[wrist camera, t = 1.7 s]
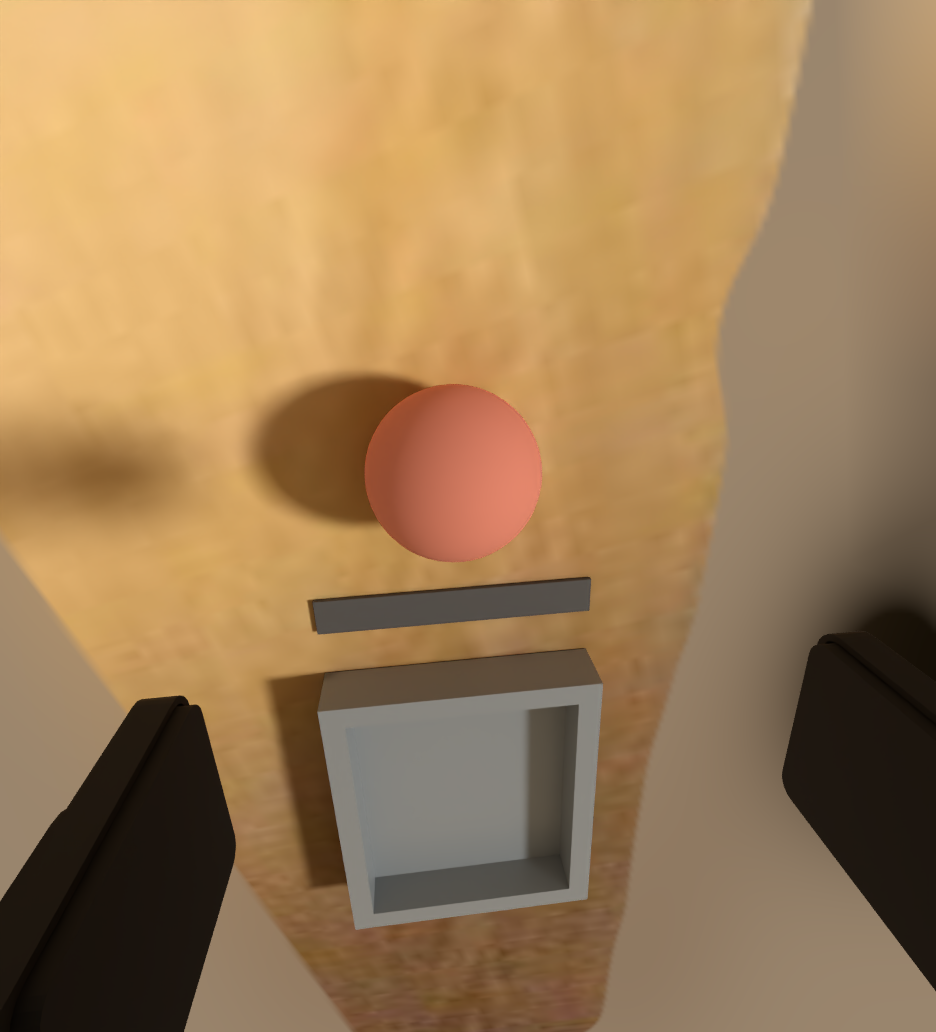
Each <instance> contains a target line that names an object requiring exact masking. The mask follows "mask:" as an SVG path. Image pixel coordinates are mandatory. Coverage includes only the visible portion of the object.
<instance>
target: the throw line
mask: <svg viewBox="0 0 936 1032" xmlns="http://www.w3.org/2000/svg"><path fill="white" fill-rule="evenodd" d="M590 588H591V578H590V577H585V578H573V579H561V580H549V581H537V582H525V583H513V584H501V585H489V586H477V587H465V588H453V589H441V590H429V591H417V592H405V593H393V594H381V595H369V596H357V597H345V598H333V599H321V600H313V609H314V615H315V621H316V627H317V633H318V634H329V633H341V632H352V631H363V630H375V629H386V628H397V627H409V626H420V625H431V624H442V623H454V622H465V621H476V620H488V619H499V618H510V617H522V616H533V615H544V614H556V613H567V612H578V611H589V606H590Z"/></svg>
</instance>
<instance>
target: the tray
mask: <svg viewBox="0 0 936 1032" xmlns="http://www.w3.org/2000/svg"><path fill="white" fill-rule="evenodd" d="M602 689H603V683H602V681H601V679H600V677H599V675H598V673H597V671H596V668H595V666H594V664H593V662H592V660H591V658H590V656H589V654H588V652H587V650H586V648H585V649H575V650H564V651H554V652H543V653H532V654H522V655H511V656H500V657H490V658H479V659H469V660H458V661H447V662H437V663H426V664H415V665H405V666H394V667H384V668H373V669H362V670H352V671H341V672H330V673H325V676H324V681H323V686H322V691H321V696H320V701H319V706H318V711H317V712H318V718H319V724H320V730H321V735H322V741H323V747H324V752H325V758H326V764H327V770H328V775H329V781H330V787H331V792H332V798H333V804H334V810H335V815H336V821H337V827H338V832H339V838H340V844H341V850H342V855H343V861H344V867H345V872H346V878H347V884H348V890H349V895H350V901H351V907H352V912H353V918H354V924H355V930H356V929H364V928H371V927H379V926H387V925H394V924H402V923H409V922H417V921H424V920H432V919H440V918H447V917H455V916H462V915H470V914H477V913H485V912H493V911H500V910H508V909H515V908H523V907H531V906H538V905H546V904H553V903H561V902H568V901H576V900H584V899H587V896H588V882H589V868H590V855H591V841H592V827H593V813H594V799H595V786H596V772H597V758H598V744H599V731H600V717H601V703H602Z"/></svg>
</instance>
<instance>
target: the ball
mask: <svg viewBox="0 0 936 1032" xmlns="http://www.w3.org/2000/svg"><path fill="white" fill-rule="evenodd" d="M541 483H542V465H541V457H540V452H539V448H538V446H537V443H536V440H535V438H534V436H533V434H532V432H531V430H530V428H529V426H528V425H527V423H526V422H525V420H524V419H523V417H522V416H521V415H520V414H519V413H518V412H517V411H516V410H515V409H514V408H513V407H512V406H510V405H509V404H508V403H507V402H506V401H504V400H503V399H501V398H499V397H498V396H496V395H495V394H493V393H490V392H488V391H486V390H484V389H480V388H477V387H473V386H468V385H461V384H447V385H438V386H434V387H430V388H426V389H423V390H421V391H418V392H416V393H414V394H412V395H410V396H408V397H407V398H405V399H403V400H402V401H401V402H399V403H398V404H397V405H395V406H394V407H393V408H392V409H391V410H390V411H389V412H388V413H387V414H386V416H385V417H384V418H383V419H382V421H381V422H380V423H379V425H378V427H377V429H376V430H375V432H374V434H373V436H372V439H371V441H370V444H369V446H368V450H367V454H366V459H365V486H366V492H367V496H368V499H369V502H370V505H371V508H372V510H373V512H374V514H375V516H376V518H377V520H378V521H379V523H380V524H381V525H382V527H383V528H384V529H385V530H386V532H387V533H388V534H389V535H390V536H391V537H392V538H393V539H394V540H396V541H397V542H398V543H399V544H400V545H402V546H403V547H405V548H406V549H408V550H409V551H411V552H413V553H415V554H417V555H419V556H422V557H425V558H428V559H432V560H437V561H444V562H464V561H471V560H475V559H479V558H482V557H484V556H487V555H490V554H492V553H494V552H495V551H497V550H499V549H501V548H502V547H503V546H505V545H506V544H508V543H509V542H510V541H511V540H512V539H514V538H515V537H516V536H517V535H518V534H519V532H520V531H521V530H522V529H523V528H524V526H525V525H526V524H527V522H528V521H529V519H530V517H531V515H532V513H533V511H534V509H535V506H536V504H537V501H538V498H539V494H540V490H541Z"/></svg>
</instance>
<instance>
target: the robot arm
mask: <svg viewBox="0 0 936 1032" xmlns="http://www.w3.org/2000/svg"><path fill="white" fill-rule="evenodd" d="M782 779H783V784H784V788H785V790H786V792H787V794H788V796H789V797H790V799H791V800H792V801H793V803H794V804H795V805H796V807H797V808H798V809H799V811H800V812H801V813H802V815H803V816H804V818H805V819H806V820H807V821H808V823H809V824H810V825H811V827H812V828H813V829H814V831H815V832H816V833H817V835H818V836H819V837H820V838H821V840H822V841H823V843H824V844H825V845H826V847H827V848H828V849H829V851H830V852H831V853H832V855H833V856H834V857H835V858H836V860H837V861H838V862H839V864H840V865H841V866H842V868H843V869H844V870H845V872H846V873H847V874H848V875H849V877H850V878H851V880H852V881H853V882H854V884H855V885H856V886H857V887H858V889H859V890H860V892H861V893H862V894H863V895H864V896H865V898H866V899H867V901H868V902H869V903H870V905H871V906H872V907H873V909H874V910H875V911H876V913H877V914H878V915H879V916H880V918H881V919H882V920H883V922H884V923H885V925H886V926H887V927H888V929H889V930H890V931H891V932H892V934H893V935H894V936H895V938H896V939H897V940H898V942H899V943H900V944H901V946H902V947H903V948H904V950H905V951H906V952H907V954H908V955H909V956H910V958H911V959H912V960H913V962H914V963H915V964H916V965H917V967H918V968H919V970H920V971H921V972H922V973H923V975H924V976H925V977H926V979H927V980H928V981H929V983H930V984H931V985H932V987H933V988H934V989H935V991H936V682H935V681H933V680H932V679H931V678H929V677H928V676H927V675H925V674H924V673H923V672H921V671H920V670H918V669H917V668H916V667H914V666H913V665H912V664H910V663H909V662H908V661H906V660H905V659H904V658H902V657H901V656H900V655H898V654H897V653H896V652H894V651H893V650H892V649H890V648H889V647H888V646H886V645H885V644H884V643H882V642H881V641H879V640H878V639H877V638H875V637H874V636H873V635H871V634H869V633H867V632H862V631H856V632H846V633H836V634H827V635H824V636H822V637H821V638H820V639H819V641H818V644H817V645H815V646H813V647H812V648H811V650H810V653H809V657H808V661H807V666H806V670H805V675H804V679H803V683H802V688H801V692H800V697H799V701H798V705H797V710H796V714H795V718H794V723H793V727H792V731H791V736H790V740H789V745H788V749H787V754H786V758H785V762H784V767H783V772H782ZM235 850H236V841H235V834H234V830H233V826H232V823H231V819H230V815H229V811H228V808H227V804H226V800H225V796H224V793H223V789H222V785H221V781H220V778H219V774H218V770H217V766H216V763H215V759H214V755H213V751H212V748H211V744H210V740H209V736H208V732H207V729H206V725H205V721H204V717H203V714H202V711H201V708H200V707H199V706H198V705H189V703H188V700H187V699H186V698H185V697H184V696H171V697H160V698H150V699H141V700H139V701H137V702H136V703H135V705H134V706H133V707H132V708H131V710H130V712H129V713H128V715H127V716H126V718H125V719H124V721H123V722H122V724H121V726H120V727H119V729H118V730H117V732H116V733H115V735H114V736H113V738H112V739H111V741H110V742H109V744H108V746H107V747H106V749H105V750H104V752H103V753H102V755H101V756H100V758H99V760H98V761H97V762H96V764H95V766H94V767H93V769H92V770H91V772H90V773H89V775H88V776H87V778H86V780H85V781H84V783H83V784H82V786H81V787H80V789H79V790H78V792H77V794H76V795H75V796H74V798H73V800H72V801H71V803H70V804H69V806H68V807H67V809H66V810H64V811H62V812H61V813H60V814H59V815H58V817H57V818H56V819H55V820H54V821H53V823H52V824H51V825H50V827H49V828H48V830H47V831H46V833H45V834H44V836H43V837H42V839H41V840H40V842H39V843H38V845H37V846H36V848H35V849H34V851H33V853H32V854H31V856H30V857H29V859H28V860H27V862H26V863H25V865H24V866H23V868H22V869H21V871H20V872H19V874H18V875H17V877H16V879H15V880H14V881H13V883H12V884H11V886H10V887H9V889H8V890H7V892H6V894H5V895H4V896H3V898H2V900H1V901H0V1032H184V1029H185V1026H186V1023H187V1019H188V1016H189V1012H190V1009H191V1006H192V1002H193V999H194V995H195V992H196V989H197V985H198V982H199V979H200V975H201V972H202V969H203V965H204V962H205V958H206V955H207V952H208V948H209V945H210V942H211V938H212V935H213V931H214V928H215V925H216V921H217V918H218V915H219V911H220V907H221V904H222V901H223V898H224V894H225V891H226V888H227V884H228V881H229V877H230V874H231V870H232V867H233V863H234V859H235Z"/></svg>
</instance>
